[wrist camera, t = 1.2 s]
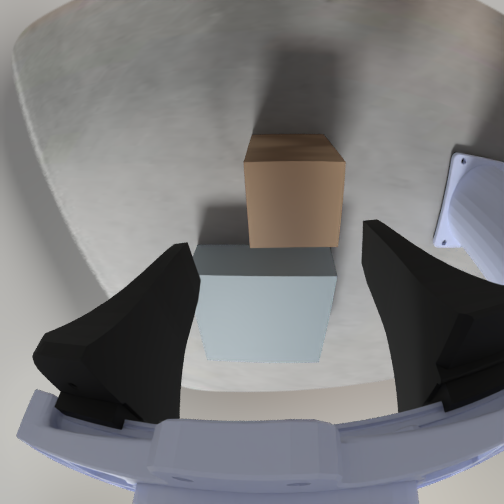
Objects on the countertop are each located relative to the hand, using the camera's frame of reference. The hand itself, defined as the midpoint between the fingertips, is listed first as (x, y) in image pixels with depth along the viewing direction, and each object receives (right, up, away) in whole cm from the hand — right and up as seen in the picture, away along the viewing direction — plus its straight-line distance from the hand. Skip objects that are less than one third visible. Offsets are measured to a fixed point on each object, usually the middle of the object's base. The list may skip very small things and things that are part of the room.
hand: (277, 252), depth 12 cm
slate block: (0, -3, +13) cm, 14 cm away
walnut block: (+1, +5, +7) cm, 9 cm away
